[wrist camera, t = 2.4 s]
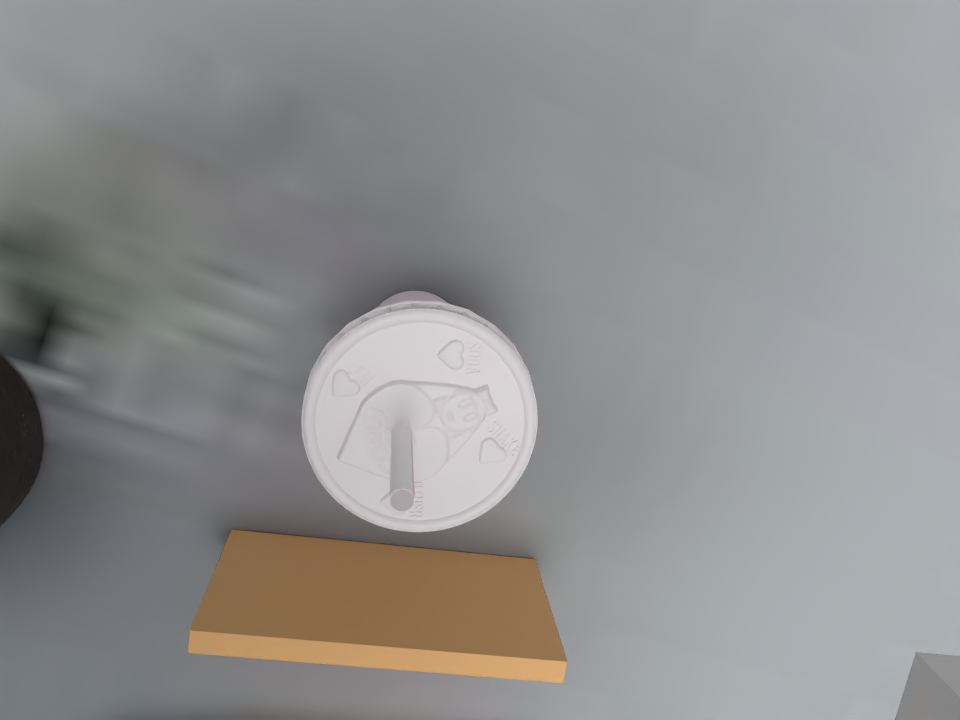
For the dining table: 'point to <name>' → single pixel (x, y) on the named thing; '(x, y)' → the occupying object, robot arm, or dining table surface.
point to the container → (17, 441)
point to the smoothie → (419, 415)
